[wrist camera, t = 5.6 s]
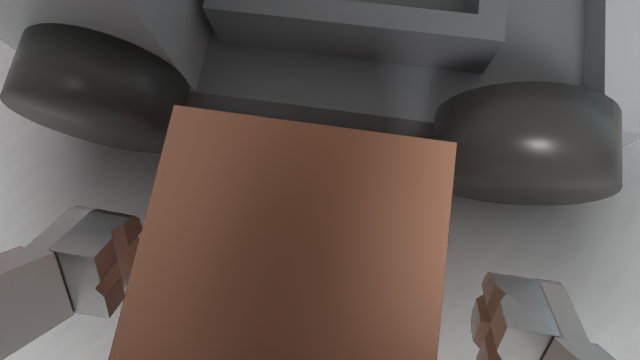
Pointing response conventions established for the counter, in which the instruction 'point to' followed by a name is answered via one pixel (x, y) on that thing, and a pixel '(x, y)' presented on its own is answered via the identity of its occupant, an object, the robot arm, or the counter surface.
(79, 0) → the chassis
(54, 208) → the counter surface
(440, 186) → the brown rectangular block
